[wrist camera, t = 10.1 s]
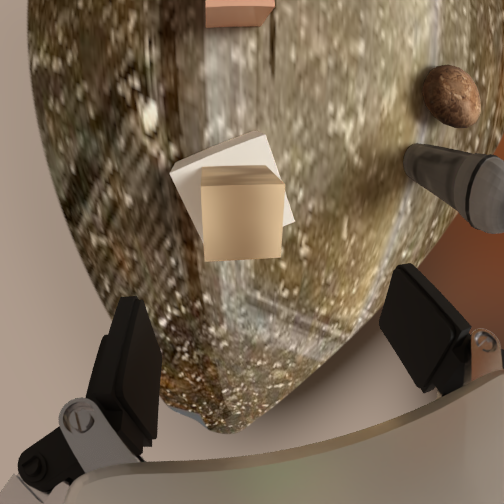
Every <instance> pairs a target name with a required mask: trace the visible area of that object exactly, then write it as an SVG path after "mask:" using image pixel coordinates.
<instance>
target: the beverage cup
mask: <svg viewBox="0 0 504 504" xmlns="http://www.w3.org/2000/svg"><path fill="white" fill-rule="evenodd" d="M403 165H404V170H405V172H406V174H407V175H408V176H409V177H410V178H412V179H413V180H414V181H416V183H418V184H419V185H421V186H423V187H424V188H426V189H427V190H429V191H430V192H432V193H433V194H434V195H436V196H437V197H439V198H440V199H442V200H443V201H445V202H446V203H447V204H449V205H450V206H451V207H453V208H454V209H456V210H457V211H458V212H459V213H460V215H461V216H462V217H463V218H464V219H465V220H466V221H468V222H469V223H470V225H471V226H472V227H474V228H475V229H479V230H482V231H484V232H487V233H492V234H496V233H503V232H504V161H503V160H501V159H500V158H498V157H497V156H495V155H491V154H490V155H486V154H477V153H475V154H472V153H468V152H463V151H459V150H454V149H449V148H444V147H439V146H433V145H427V144H418V143H416V144H413V145H411V146H410V147H409V148H408V149H407V151H406V153H405V155H404V160H403Z"/></svg>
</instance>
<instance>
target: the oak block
mask: <svg viewBox="0 0 504 504" xmlns="http://www.w3.org/2000/svg"><path fill="white" fill-rule="evenodd" d="M284 197H285V184H284V183H283V182H282V181H281V180H280V179H279V178H278V177H277V176H276V175H275V174H274V173H273V172H272V171H271V170H270V169H269V168H268V167H267V166H266V165H237V166H207V167H202V174H201V204H202V224H203V242H204V257H205V262H211V261H228V260H245V259H262V258H279V257H280V256H281V243H282V228H283V213H284Z"/></svg>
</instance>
